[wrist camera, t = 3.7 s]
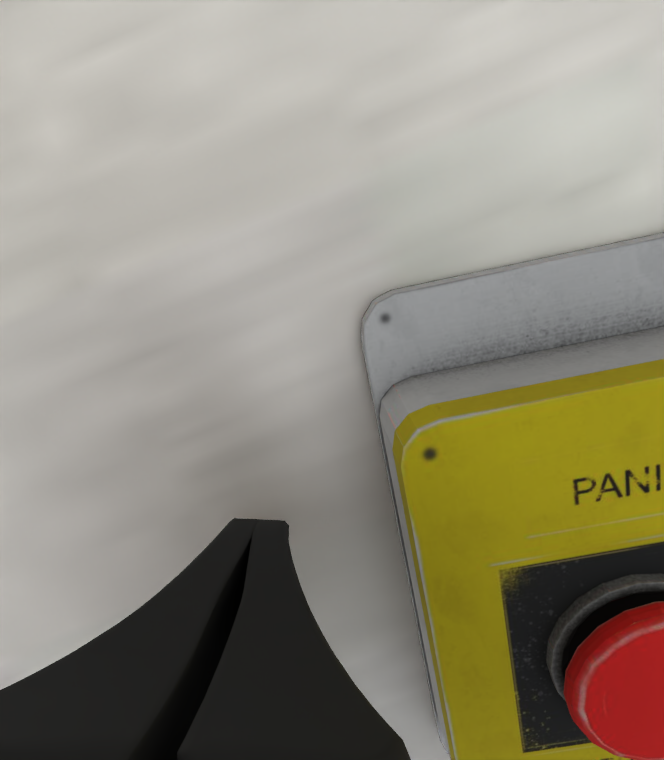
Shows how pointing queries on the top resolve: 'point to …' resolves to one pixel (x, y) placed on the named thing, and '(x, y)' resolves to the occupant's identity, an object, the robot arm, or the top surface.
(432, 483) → the emergency button
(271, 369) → the top surface
